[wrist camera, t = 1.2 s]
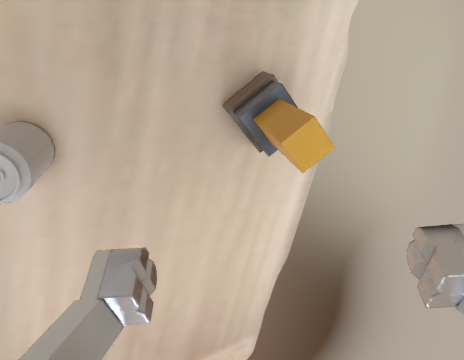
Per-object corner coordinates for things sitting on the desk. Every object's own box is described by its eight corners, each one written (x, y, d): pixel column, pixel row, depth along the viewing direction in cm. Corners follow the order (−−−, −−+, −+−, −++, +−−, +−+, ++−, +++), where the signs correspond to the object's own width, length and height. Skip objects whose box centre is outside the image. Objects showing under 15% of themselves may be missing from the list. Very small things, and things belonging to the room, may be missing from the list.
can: (-16, 129, 47) (-70, 157, 36) (41, 113, 47) (4, 135, 36) (12, 179, 50) (-30, 219, 39) (65, 164, 50) (38, 199, 39)
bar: (253, 119, 44) (280, 143, 33) (279, 98, 43) (314, 116, 33) (271, 143, 45) (302, 173, 35) (296, 123, 45) (335, 148, 35)
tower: (222, 104, 51) (233, 117, 43) (263, 71, 51) (282, 77, 42) (252, 143, 54) (268, 162, 46) (291, 112, 53) (314, 125, 45)
